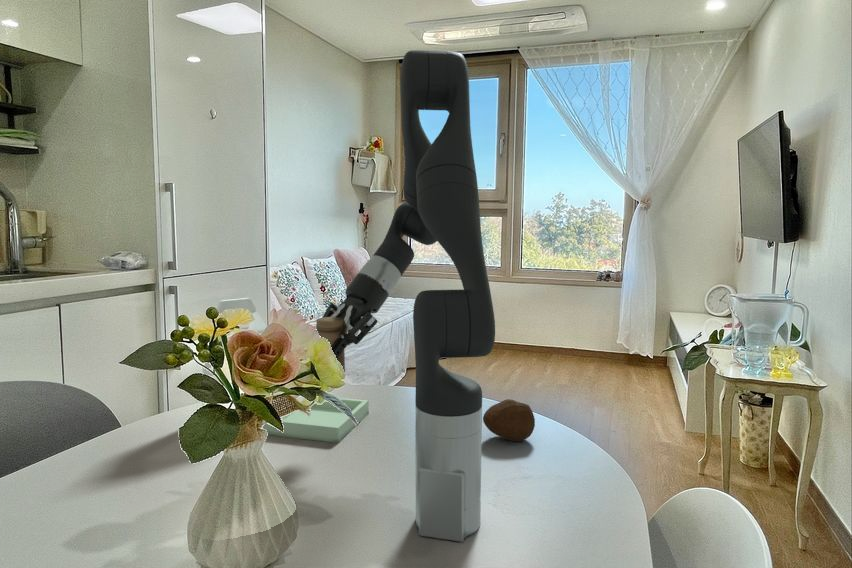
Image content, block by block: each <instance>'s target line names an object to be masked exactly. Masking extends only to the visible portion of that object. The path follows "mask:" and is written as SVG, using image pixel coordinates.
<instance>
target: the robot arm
mask: <svg viewBox="0 0 852 568" xmlns="http://www.w3.org/2000/svg"><path fill="white" fill-rule="evenodd" d="M469 75H470V73H469V67H468V63H467V59H465V56H464V55H463V53H460V52H457V51H453V50H452V51H449V50H425V49H424V50H423V49H418V50H417V49H415V50H408V51H407V52H406V53H405V54H404V55H403V59H402V63H401V67H400V83H399V84H400V85H399V86H400V87H399V88H400V112H401V129H402V130H401V131H402V140H403V141H402V142H403V150H404V151H403V152H404V153H403V154H404V171H403V172H404V173H403V189H402V191H403V192H402V194H403V198H404V201H405V202H403V203H401V204H400V205H398V207H397V208H396V209H395V212H394V214H393V217H392V220H391V223H390V225H389V228H388V229H387V230H388V231H387V232H386V235H385V237H384V239H383V241H382V242H381V244H380V245H379V247H378V248H377V249H376V250H375V252H374V254H373V255H372V256H371V257H370V259H368V260H367V261H366V262H365V264H364V265H362V267H361V268H360V270H359V271H358V272H357V274H356V275H355V276H354V278H353V279H352V280H351V282H350V283H349V285H348V286H347V287H346V289H345V290H344V291H345V292H344V293H345V296H346V297H345V299H344V300H343V301H342V302H341V303H339V305H336V304H335V303H333V302H331V303H330V304H328V307H327V308H326V309H325V311H324V314H323V315H322V317H321V318H323V317H340V318H343V319H344V321H343V325H342V326H343V329H342V331H341V333H340V335H339V338H340V339H339V338H337V339H336V340H335V342H334V343H333V344H332V346H331V347H332V350H333V352H334V354H335V355H336V358H338V357H339V356H340V354H341V353H342V352H343V350H344V351H345V349H346V348H347V346H350V345H351V344H354V345H358V344H359V343H360V342H361V341H362V340H363V339H364V338H365V337H366V335H368V333H370V331H371V330H372V329H373V328H374V327H375V326H376V325H377V323H378V319H377V318H376V317H375V316H374V315H373V314H376V313H378V312H379V311H380V309H381V308H382V307H383V305H384V303H385V302H386V300H387V299H388V298H389V296H390V295H391V294H392V292H393V290H395V287H396V286H397V285H398V282H399V280H400V279H401V278H402V276H403V275H404V273H405V272H406V271H407V269H408V267H409V266H410V265H411V264H412V262H413V260H414V258H415V252H414V249H413V248H412V246H411V245H409V243H408V242H407V241H405V240H404V239H403V237H405V236H406V237H407V238H410V239H411V240H414V241H415V242H418V243H419V244H422V245H423V246H424V245H425V246H431V245H433V244H436V242H437V243H438V244H439V245H440V246H441V247H442V249H443V250H444V251H445V252H446V254H447V255H448V256H449V258H450V259H451V261H452V264H454V266H455V268H456V271H457V274H458V275H459V278H460V281H461V284H462V286H463V287H462V288H463V289H427V290H422V291H420V292H418V294H417V295H416V298H415V299H414V303H413V309H412V310H413V311H412V312H413V313H412V315H413V316H412V321H413V322H412V323H413V324H412V325H413V340H414V343H413V344H414V359H415V400H414V401H415V426H414V427H415V430H414V431H415V445H414V446H415V451H414V453H415V457H414V458H415V460H414V461H415V524H416V526H417V528H418V535H419V536H422V537H429V538H435V539H442V540H447V541H455V542H461V543H463V542H464V540H465V539H466V537H469V536H471V535H472V534H474V533H475V532H477V531H478V530H479V528H480V526H481V516H482V515H481V511H482V509H481V508H482V507H481V505H482V503H481V502H482V495H481V494H482V493H481V491H482V490H481V489H482V486H481V485H482V432H483V431H482V428H483V427H482V426H483V425H482V424H483V390H482V387H481V385H480V384H479V383H478V382H477V381H475V380H474V379H472V378H469V377H467V376H463V375H460V374H458V373H455V372H452V371H449V370H448V369H446V368H444V367H443V366H442V365H440V364H439V361H440V359H451V358H453V359H454V358H455V359H456V358H457V359H459V358H478V357H479V358H480V357H486V356H488V355H490V353H491V352H492V350H493V348H494V346H495V340H496V320H495V319H496V318H495V313H494V312H495V310H494V305H493V299H492V294H491V287H490V281H489V278H488V271H487V265H486V261H485V260H486V259H485V255H484V254H485V253H484V247H483V238H482V236H483V235H482V228H481V226H482V225H481V212H480V211H481V209H480V196H479V186H478V178H477V169H476V163H475V159H474V158H475V157H474V149H473V148H474V147H473V140H472V130H471V129H472V128H471V109H470V108H471V104H470V78H469V77H470V76H469ZM420 111H447V112H448V115H447V118H446V122H445V123H444V125H443V127H442V129H441V130H440V132H439V134H438V135H437V136H436V138H435V139H434V140H433V142H431V141H430V139H429V137H428V136H427V134H426V131H424V128H423V126H422V123H421V119H420V114H419V113H420Z"/></svg>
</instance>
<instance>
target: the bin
mask: <svg viewBox="0 0 852 568" xmlns="http://www.w3.org/2000/svg"><path fill="white" fill-rule="evenodd" d="M338 398H339V399H340V400H341V401H342V402H343V403H345V404H346V405H347V406H348V407H349V408H350V409H351V412H352V414H353V416H354V417H355V419H356V420H357V422H360V421H361V422H362V421H363V420H364V419H366V417H367V416H368V415H369V414H370V413H369V412H370V410H369V406H370V405H369V404H370V403H369V400H368V399H367V400H366V399H358V398H357V399H355V398H347V397H346V398H345V397H338ZM310 411H311V416H310V417H308V416H307V415H305V414H303V413H301V412H295V413H292V414H291V415H288V416H289V417H288V416H285V417H283V420H282V422H283V425H284V433H282V432H281V431H279V430H277V429H276V428H274V427H272V426H270V425H268V424H265V425H264V426H263V430H264V429H266V430H267V432H268V436H275V437H284V438H293V439H301V440H302V439H303V440H309V441H319V442H327V443H335V444H339V443H341V441H343V440H344V439H345V438H346V436H348V435H349V434H350V432H352V431H353V430H354V429H355V428H356V427H355V424H354V423H353V422H352V420H351V419H350V418H349V417H347V416H346V415H345V414H343V413H342V412H341V411H340V410H338V409H337V408H336V407H334V406H333V405H332V404H330V403H329V402H324V403H323V404H322V405H317V404H314V405H313V406H312V407H311V410H310ZM284 418H285V419H284ZM361 422H360V423H361ZM354 427H355V428H354ZM353 428H354V429H353ZM351 430H352V431H351Z"/></svg>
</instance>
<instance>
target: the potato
mask: <svg viewBox="0 0 852 568" xmlns="http://www.w3.org/2000/svg"><path fill="white" fill-rule="evenodd" d="M482 423H483V424H484V425H485V427H486V428H487V429H488V430H489V431H490V432H491V433H493V434H494V435H496V436H498V437H501V438H503V439H504V440H507V441H511V442H522V441H524V440H527V439H529V437H531V435H532V434H533V431H534V429H535V427H536V424H535V423H536V419H535V415H534V412H533V410H532V408H531V407H530V405H529V404H527V403H523V402H519V401H516V400H514V399H505V400H502V401H500V402H498V403H495V404H492V405H491V406H490V407H489V408H487V410H486V411H485V412H484V414H483V415H482Z"/></svg>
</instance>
